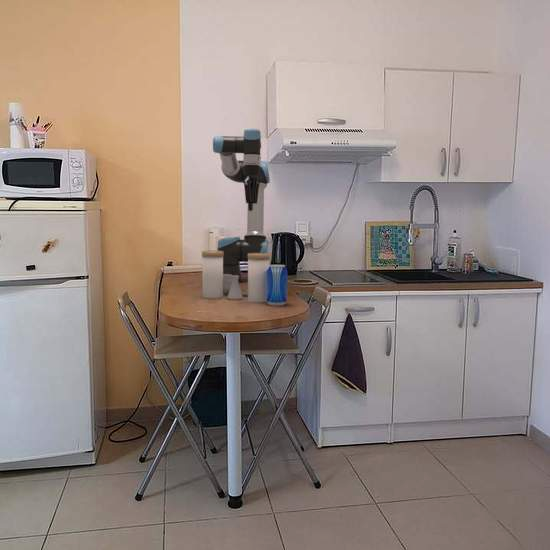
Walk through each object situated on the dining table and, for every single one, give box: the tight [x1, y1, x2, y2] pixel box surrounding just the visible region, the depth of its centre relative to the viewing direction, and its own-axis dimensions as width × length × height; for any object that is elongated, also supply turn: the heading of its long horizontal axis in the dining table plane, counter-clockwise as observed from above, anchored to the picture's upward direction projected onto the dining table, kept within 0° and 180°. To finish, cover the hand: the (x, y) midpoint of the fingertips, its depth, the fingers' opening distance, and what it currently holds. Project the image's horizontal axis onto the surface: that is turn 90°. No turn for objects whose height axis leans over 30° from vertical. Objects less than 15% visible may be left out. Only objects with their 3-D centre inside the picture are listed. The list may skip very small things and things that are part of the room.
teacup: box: [223, 274, 233, 293], centre depth 252 cm, size 14×11×8 cm
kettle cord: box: [223, 292, 248, 298], centre depth 241 cm, size 25×1×1 cm, turn 67°
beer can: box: [266, 264, 288, 307], centre depth 222 cm, size 8×8×16 cm
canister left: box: [201, 250, 224, 300], centre depth 237 cm, size 9×9×20 cm
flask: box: [226, 275, 244, 301], centre depth 234 cm, size 7×7×10 cm
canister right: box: [247, 252, 271, 304], centre depth 229 cm, size 9×9×20 cm
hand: (251, 218), depth 245 cm, fingers closed
